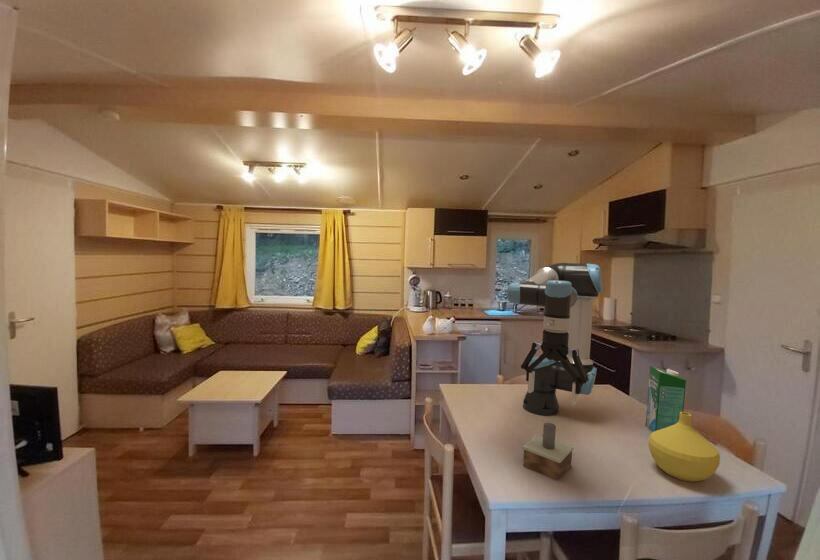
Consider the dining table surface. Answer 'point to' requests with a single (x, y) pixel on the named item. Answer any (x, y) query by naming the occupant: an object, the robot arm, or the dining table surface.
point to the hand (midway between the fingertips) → (551, 397)
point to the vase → (683, 451)
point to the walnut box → (547, 464)
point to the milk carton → (664, 398)
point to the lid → (548, 445)
